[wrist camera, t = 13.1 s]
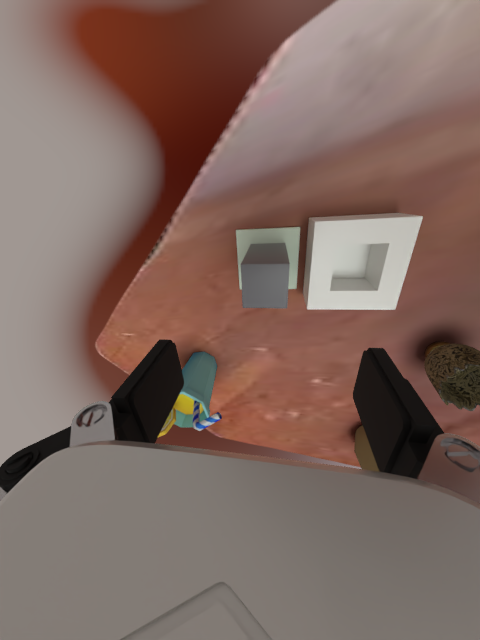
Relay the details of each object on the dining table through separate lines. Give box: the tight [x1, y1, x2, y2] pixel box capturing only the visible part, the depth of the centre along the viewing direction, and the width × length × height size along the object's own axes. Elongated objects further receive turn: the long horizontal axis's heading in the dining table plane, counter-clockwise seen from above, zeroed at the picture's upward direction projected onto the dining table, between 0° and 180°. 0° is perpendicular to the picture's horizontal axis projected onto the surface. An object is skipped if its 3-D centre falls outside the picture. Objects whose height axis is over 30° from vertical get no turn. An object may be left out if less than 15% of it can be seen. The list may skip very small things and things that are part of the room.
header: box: [303, 213, 423, 310], centre depth 27 cm, size 10×10×5 cm
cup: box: [158, 352, 222, 437], centre depth 34 cm, size 14×8×15 cm, turn 125°
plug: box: [241, 243, 290, 308], centre depth 26 cm, size 4×4×10 cm
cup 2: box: [424, 341, 480, 411], centre depth 30 cm, size 8×7×8 cm
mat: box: [236, 227, 300, 289], centre depth 30 cm, size 8×8×1 cm
